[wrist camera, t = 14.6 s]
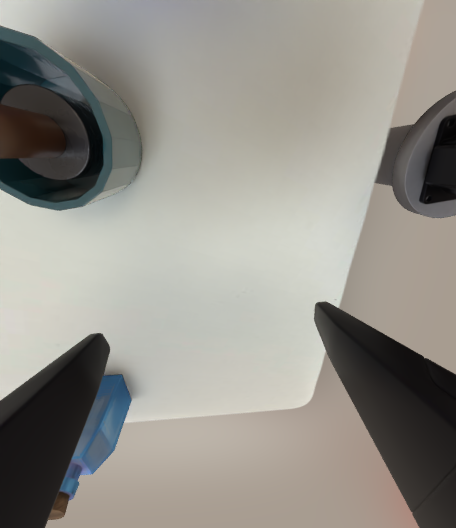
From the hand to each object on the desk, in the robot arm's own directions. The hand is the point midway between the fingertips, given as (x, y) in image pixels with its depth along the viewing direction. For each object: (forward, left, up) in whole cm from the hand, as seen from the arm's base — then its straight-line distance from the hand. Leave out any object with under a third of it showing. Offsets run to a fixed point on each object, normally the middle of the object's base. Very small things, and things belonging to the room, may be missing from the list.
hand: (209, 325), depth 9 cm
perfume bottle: (+20, +21, -13) cm, 32 cm away
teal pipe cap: (+8, -9, -13) cm, 18 cm away
